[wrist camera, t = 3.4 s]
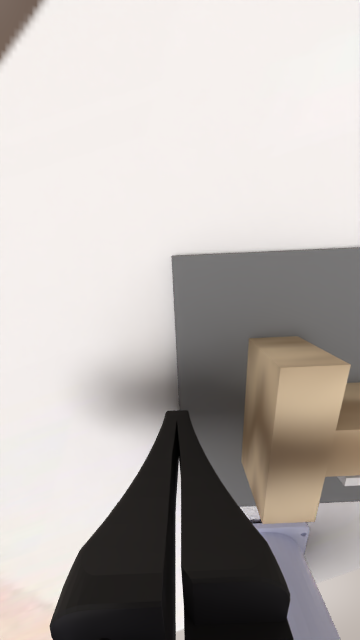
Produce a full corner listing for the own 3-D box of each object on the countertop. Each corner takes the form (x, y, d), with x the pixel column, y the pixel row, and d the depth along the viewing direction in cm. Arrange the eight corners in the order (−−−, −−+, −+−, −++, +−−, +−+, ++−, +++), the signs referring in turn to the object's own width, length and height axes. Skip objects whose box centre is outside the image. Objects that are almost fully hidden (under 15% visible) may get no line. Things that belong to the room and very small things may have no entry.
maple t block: (372, 455, 14) (436, 516, 10) (241, 461, 14) (262, 524, 10) (410, 331, 11) (514, 357, 8) (248, 338, 11) (280, 367, 8)
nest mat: (460, 487, 15) (487, 508, 14) (184, 500, 15) (185, 522, 14) (587, 238, 10) (650, 233, 9) (171, 256, 10) (171, 254, 9)
